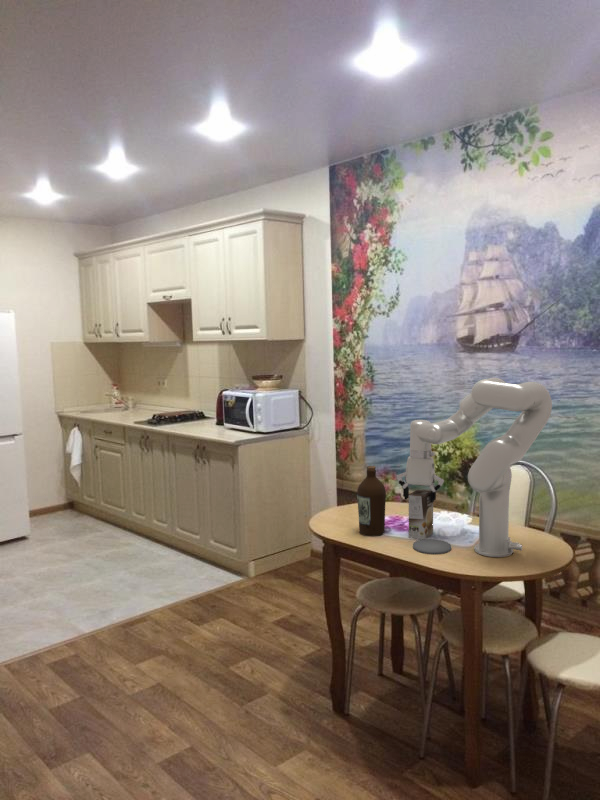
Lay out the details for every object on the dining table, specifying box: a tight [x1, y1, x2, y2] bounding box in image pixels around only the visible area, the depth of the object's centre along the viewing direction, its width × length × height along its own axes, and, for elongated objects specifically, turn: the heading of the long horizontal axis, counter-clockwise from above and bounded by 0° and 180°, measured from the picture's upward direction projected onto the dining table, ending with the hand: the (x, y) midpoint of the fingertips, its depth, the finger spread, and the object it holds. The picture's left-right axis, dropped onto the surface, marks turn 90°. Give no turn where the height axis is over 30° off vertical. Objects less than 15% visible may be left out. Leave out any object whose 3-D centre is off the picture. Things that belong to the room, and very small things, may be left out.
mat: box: [412, 538, 452, 555], centre depth 226 cm, size 13×13×1 cm
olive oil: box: [356, 465, 387, 537], centre depth 243 cm, size 11×11×25 cm
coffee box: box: [408, 489, 434, 540], centre depth 239 cm, size 9×6×16 cm
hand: (419, 500), depth 239 cm, fingers open, 9 cm apart
